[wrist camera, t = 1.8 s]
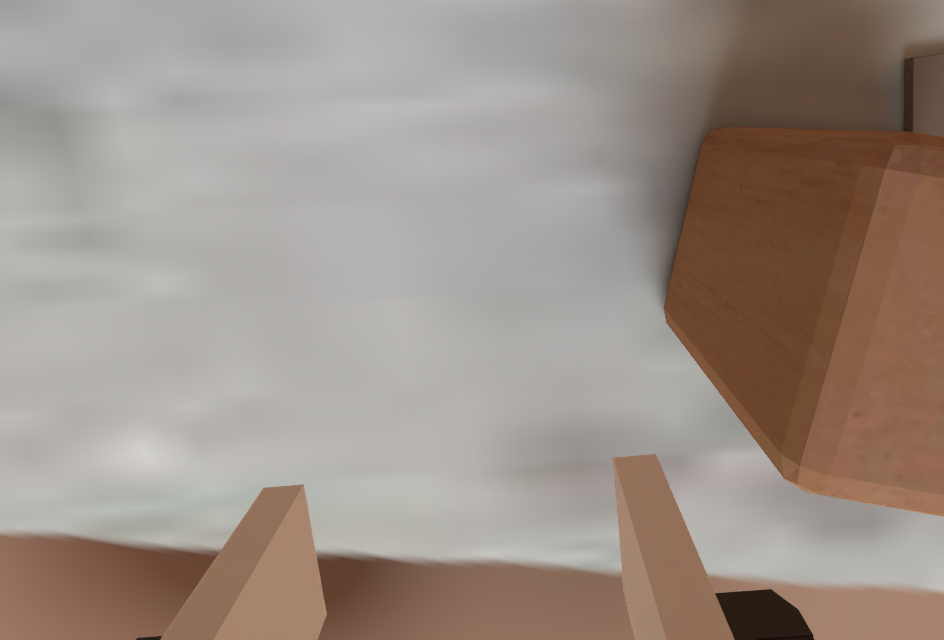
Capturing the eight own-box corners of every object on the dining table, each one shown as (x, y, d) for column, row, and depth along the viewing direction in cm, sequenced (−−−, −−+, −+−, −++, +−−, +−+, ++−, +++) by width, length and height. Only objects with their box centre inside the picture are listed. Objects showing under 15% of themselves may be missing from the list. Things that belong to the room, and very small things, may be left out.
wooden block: (908, 158, 38) (1307, 196, 19) (850, 355, 41) (1152, 567, 22) (701, 123, 39) (890, 125, 19) (655, 322, 41) (782, 502, 22)
